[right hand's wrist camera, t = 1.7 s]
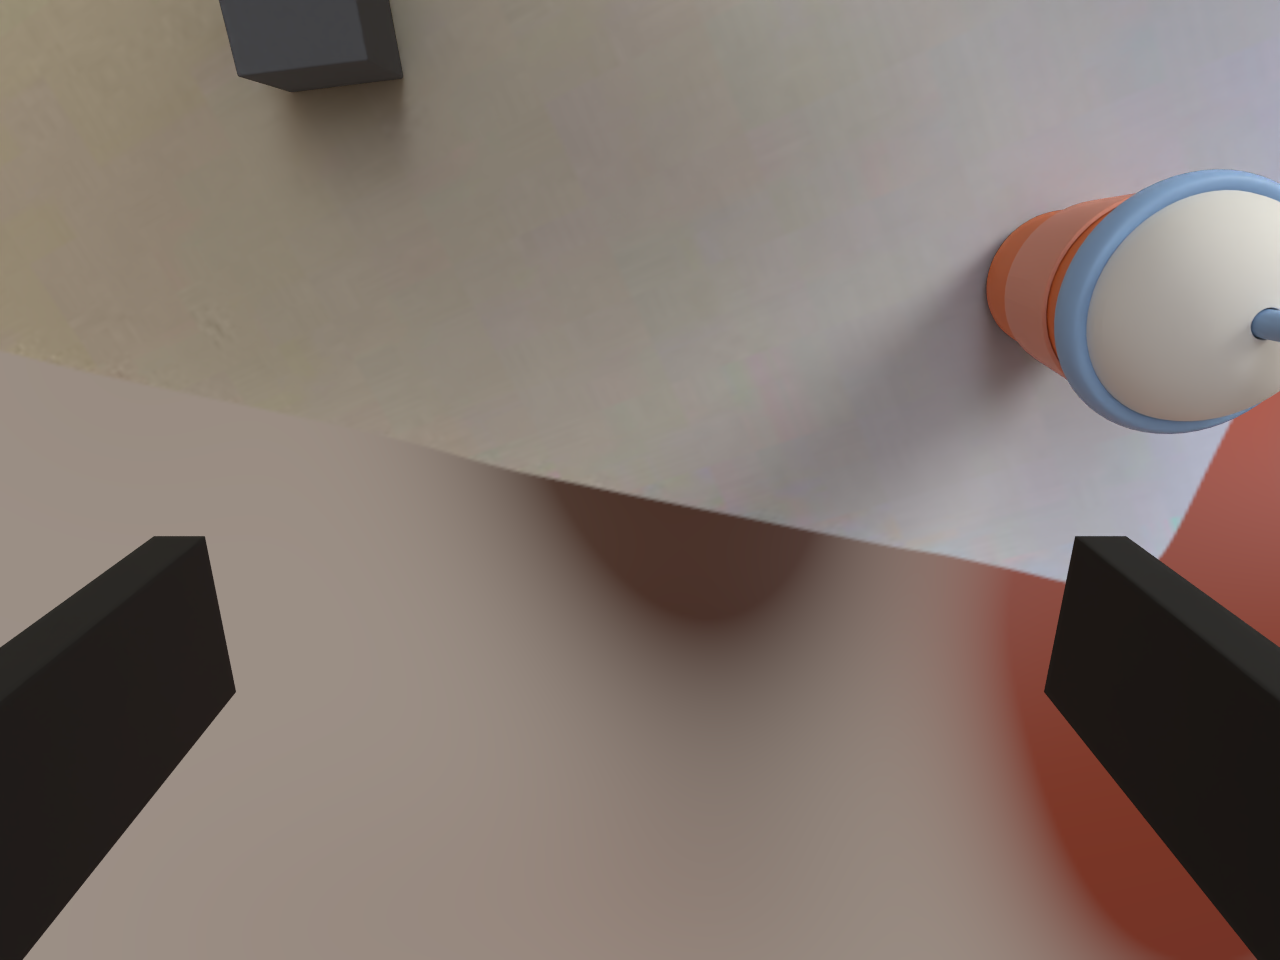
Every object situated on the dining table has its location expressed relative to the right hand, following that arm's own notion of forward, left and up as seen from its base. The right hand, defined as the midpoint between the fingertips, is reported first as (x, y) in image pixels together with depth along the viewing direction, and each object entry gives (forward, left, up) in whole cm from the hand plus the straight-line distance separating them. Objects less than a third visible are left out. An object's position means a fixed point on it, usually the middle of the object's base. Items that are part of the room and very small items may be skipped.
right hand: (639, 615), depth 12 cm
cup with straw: (-5, +19, -28) cm, 34 cm away
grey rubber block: (-11, -15, -28) cm, 33 cm away
